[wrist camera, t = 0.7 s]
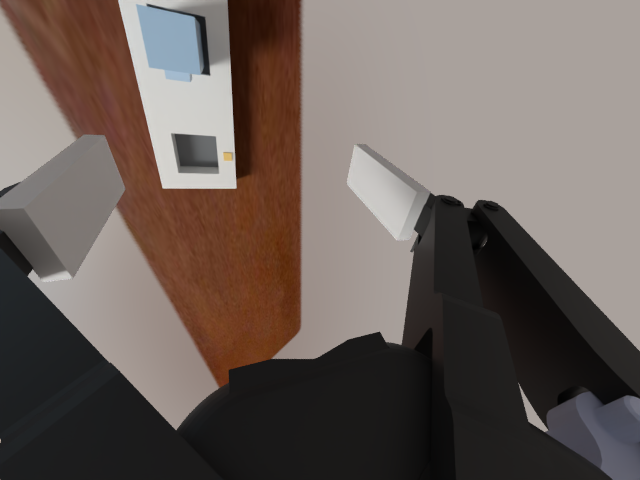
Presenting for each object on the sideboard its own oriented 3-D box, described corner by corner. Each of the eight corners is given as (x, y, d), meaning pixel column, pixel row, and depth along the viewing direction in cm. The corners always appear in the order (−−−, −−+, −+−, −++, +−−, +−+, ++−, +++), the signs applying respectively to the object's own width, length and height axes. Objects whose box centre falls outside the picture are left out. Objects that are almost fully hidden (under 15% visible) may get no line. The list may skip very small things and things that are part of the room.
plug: (159, 16, 24) (135, 3, 17) (200, 24, 25) (194, 16, 18) (168, 68, 27) (151, 78, 19) (205, 74, 28) (201, 85, 20)
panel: (119, -31, 22) (108, -40, 20) (225, -4, 25) (227, -8, 23) (166, 178, 34) (162, 189, 31) (235, 179, 37) (236, 189, 34)
